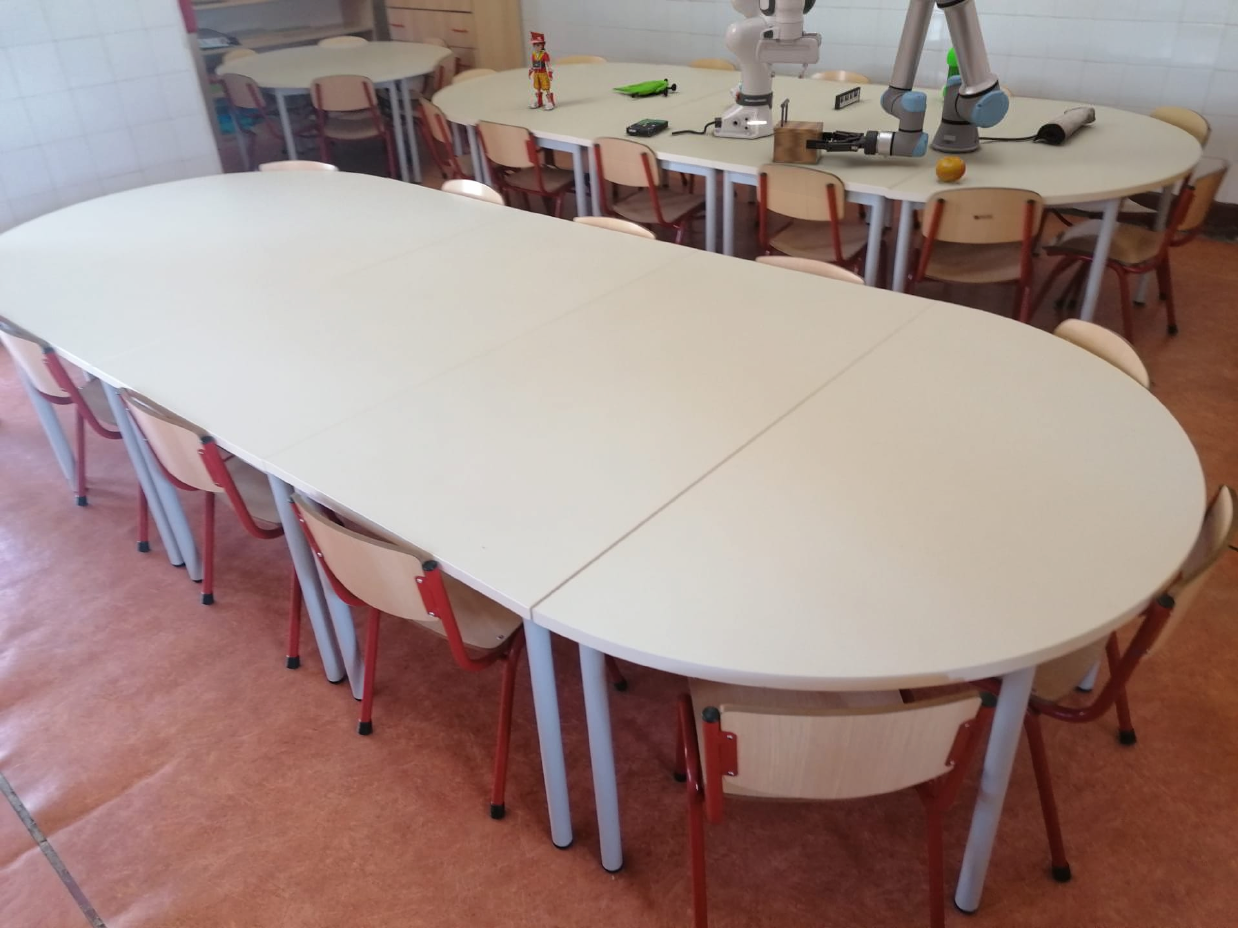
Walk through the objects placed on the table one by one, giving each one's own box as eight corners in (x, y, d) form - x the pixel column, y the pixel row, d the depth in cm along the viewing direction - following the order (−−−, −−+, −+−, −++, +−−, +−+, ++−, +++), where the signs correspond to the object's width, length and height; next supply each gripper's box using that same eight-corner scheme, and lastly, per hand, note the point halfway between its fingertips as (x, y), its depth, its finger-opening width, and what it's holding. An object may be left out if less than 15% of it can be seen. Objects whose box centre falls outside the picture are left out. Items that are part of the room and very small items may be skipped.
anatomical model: (726, 82, 366) (750, 75, 366) (730, 107, 372) (754, 101, 372) (732, 90, 354) (757, 83, 353) (737, 117, 360) (761, 110, 359)
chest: (773, 162, 303) (774, 132, 297) (779, 154, 310) (780, 124, 304) (815, 164, 298) (817, 133, 292) (821, 156, 305) (823, 126, 300)
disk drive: (649, 138, 335) (668, 127, 345) (649, 130, 333) (668, 120, 343) (625, 135, 340) (645, 125, 350) (625, 127, 338) (645, 117, 348)
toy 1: (525, 109, 381) (517, 32, 364) (534, 104, 388) (527, 28, 371) (550, 110, 377) (543, 32, 360) (559, 105, 384) (553, 28, 367)
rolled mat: (1061, 112, 323) (1087, 94, 314) (1075, 133, 323) (1101, 116, 315) (1028, 135, 305) (1054, 117, 297) (1043, 158, 306) (1070, 140, 298)
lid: (773, 131, 297) (774, 104, 292) (779, 124, 305) (780, 97, 300) (817, 133, 292) (819, 106, 288) (823, 126, 300) (825, 98, 295)
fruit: (930, 172, 274) (947, 148, 271) (931, 174, 281) (947, 151, 278) (953, 187, 272) (970, 164, 269) (953, 189, 280) (970, 166, 277)
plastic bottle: (973, 101, 354) (984, 32, 339) (955, 106, 349) (966, 36, 335) (952, 97, 361) (962, 29, 346) (934, 102, 356) (944, 33, 342)
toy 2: (686, 85, 398) (631, 84, 414) (685, 72, 395) (629, 72, 411) (651, 104, 381) (596, 103, 397) (650, 92, 378) (594, 91, 394)
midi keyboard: (837, 109, 355) (838, 96, 352) (834, 109, 355) (835, 95, 352) (859, 100, 365) (860, 87, 362) (856, 99, 366) (858, 86, 363)
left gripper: (823, 30, 282) (820, 76, 290) (760, 29, 289) (758, 75, 297) (820, 33, 277) (816, 81, 285) (755, 33, 284) (753, 79, 292)
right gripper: (871, 165, 286) (801, 161, 293) (881, 145, 303) (814, 142, 310) (874, 140, 282) (803, 137, 289) (883, 122, 298) (816, 119, 305)
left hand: (786, 78), depth 291 cm, fingers open, 8 cm apart
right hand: (809, 140), depth 299 cm, fingers closed on chest, 10 cm apart
